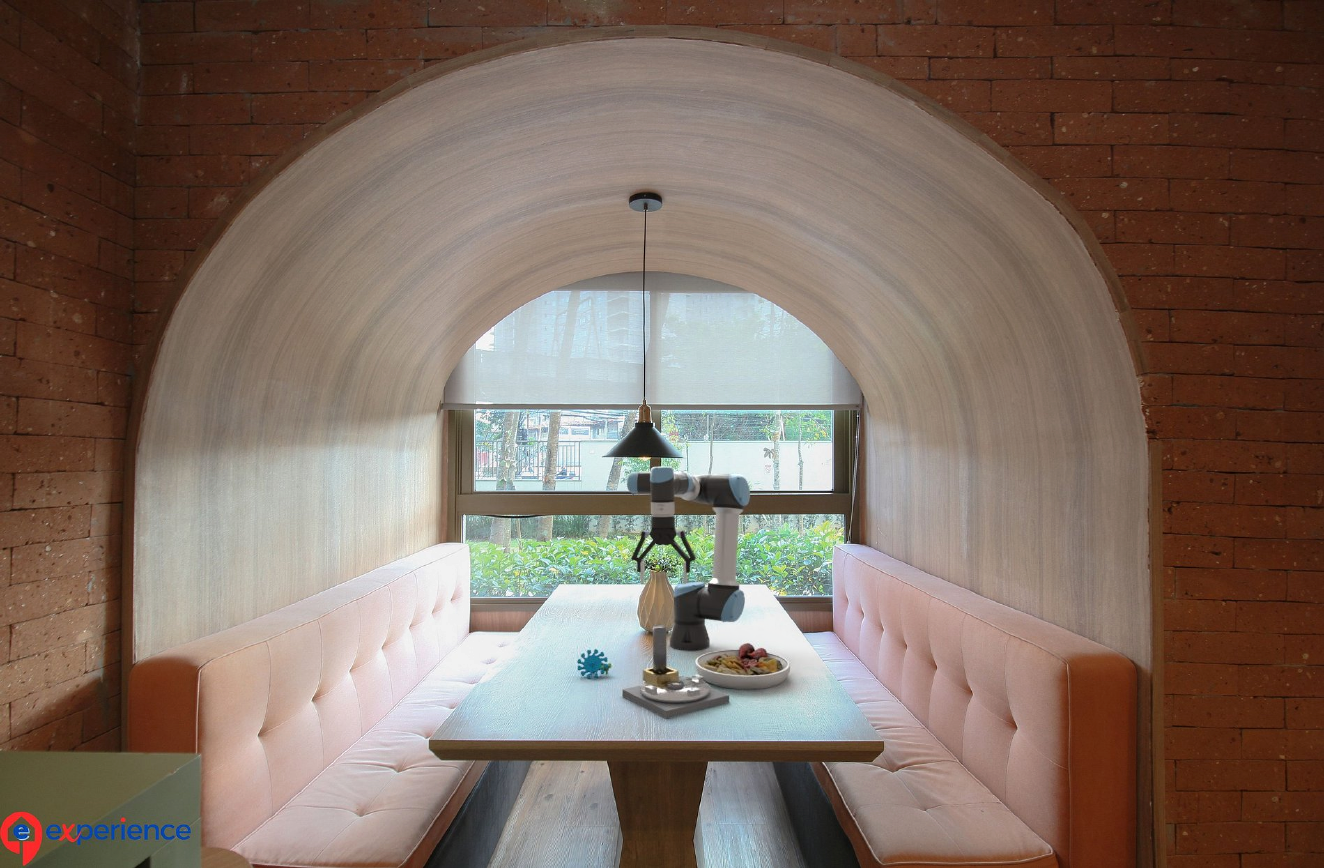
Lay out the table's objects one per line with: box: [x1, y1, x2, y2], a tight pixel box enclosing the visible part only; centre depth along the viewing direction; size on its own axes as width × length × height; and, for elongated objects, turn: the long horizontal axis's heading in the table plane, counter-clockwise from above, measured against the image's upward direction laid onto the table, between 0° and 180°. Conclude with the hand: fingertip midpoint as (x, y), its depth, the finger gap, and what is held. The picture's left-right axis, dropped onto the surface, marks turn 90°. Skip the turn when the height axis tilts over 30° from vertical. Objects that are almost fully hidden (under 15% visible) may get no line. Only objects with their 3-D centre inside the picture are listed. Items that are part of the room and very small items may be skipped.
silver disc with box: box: [640, 666, 710, 703], centre depth 196 cm, size 21×20×4 cm
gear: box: [576, 648, 612, 679], centre depth 220 cm, size 11×6×10 cm
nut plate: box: [621, 675, 730, 720], centre depth 196 cm, size 22×22×2 cm
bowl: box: [694, 642, 791, 690], centre depth 217 cm, size 30×30×8 cm
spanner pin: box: [652, 624, 668, 675], centre depth 201 cm, size 4×4×16 cm
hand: (664, 583), depth 214 cm, fingers open, 13 cm apart
